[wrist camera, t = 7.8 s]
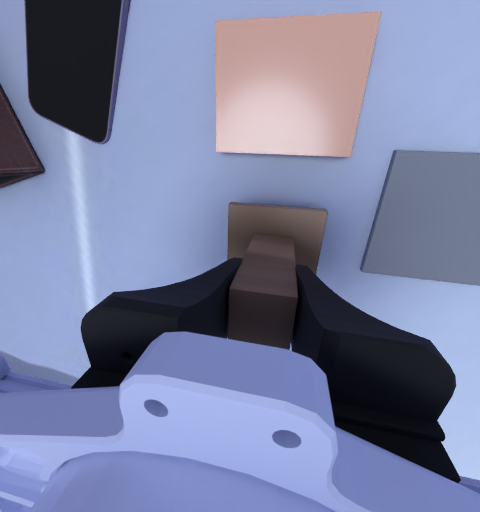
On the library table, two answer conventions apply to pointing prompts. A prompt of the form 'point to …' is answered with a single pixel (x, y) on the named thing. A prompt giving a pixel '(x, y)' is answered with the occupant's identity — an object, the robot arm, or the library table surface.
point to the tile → (292, 83)
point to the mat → (428, 219)
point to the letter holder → (14, 148)
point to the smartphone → (75, 62)
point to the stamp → (269, 268)
